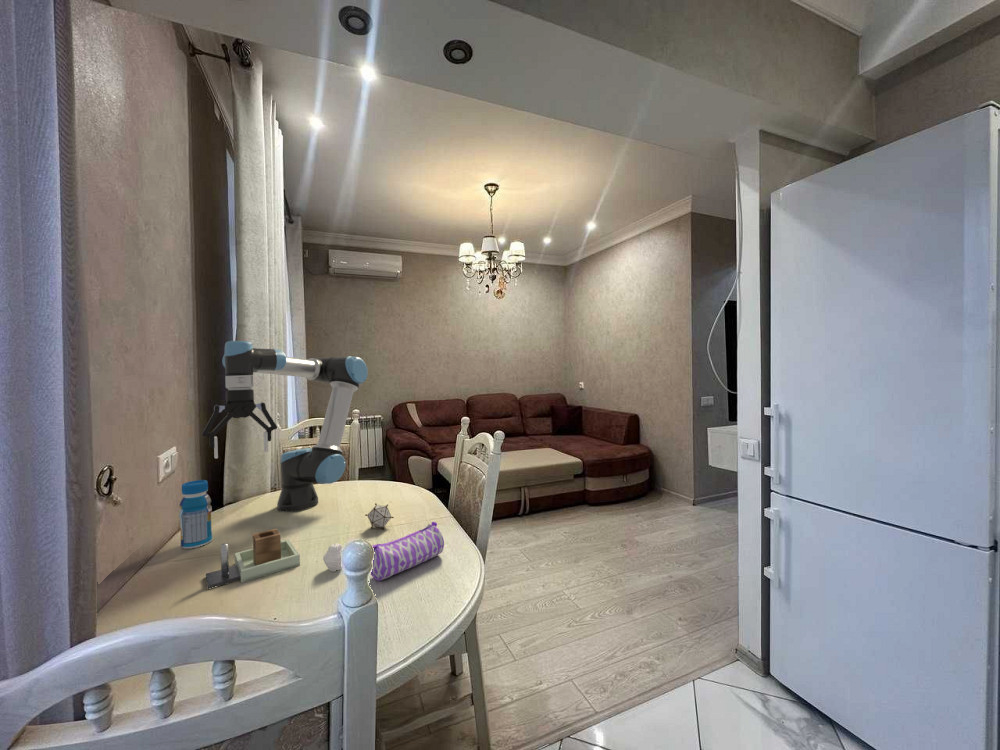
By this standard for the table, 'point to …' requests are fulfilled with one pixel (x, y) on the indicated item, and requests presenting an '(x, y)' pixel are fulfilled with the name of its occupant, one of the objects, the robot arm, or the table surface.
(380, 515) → the game die
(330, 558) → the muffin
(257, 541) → the bore block
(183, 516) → the beverage bottle
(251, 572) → the tray
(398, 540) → the pencil case
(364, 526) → the table surface
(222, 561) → the pin
